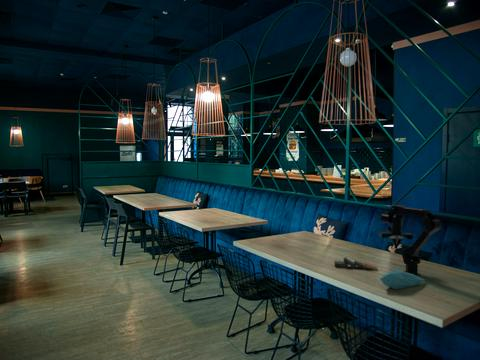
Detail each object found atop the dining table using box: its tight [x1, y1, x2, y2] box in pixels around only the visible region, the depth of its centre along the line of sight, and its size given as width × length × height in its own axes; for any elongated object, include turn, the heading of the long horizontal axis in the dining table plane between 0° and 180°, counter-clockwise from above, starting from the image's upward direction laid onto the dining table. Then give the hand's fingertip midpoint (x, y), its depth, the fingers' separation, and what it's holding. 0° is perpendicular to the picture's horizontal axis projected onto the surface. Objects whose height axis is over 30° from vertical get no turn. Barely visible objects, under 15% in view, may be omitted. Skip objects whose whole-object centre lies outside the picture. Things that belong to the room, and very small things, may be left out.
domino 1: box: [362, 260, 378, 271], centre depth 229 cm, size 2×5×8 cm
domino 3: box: [342, 257, 357, 269], centre depth 232 cm, size 2×5×8 cm
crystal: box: [379, 269, 426, 290], centre depth 199 cm, size 10×34×10 cm, turn 113°
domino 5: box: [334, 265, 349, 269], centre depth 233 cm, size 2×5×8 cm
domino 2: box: [353, 260, 368, 270], centre depth 231 cm, size 2×5×8 cm
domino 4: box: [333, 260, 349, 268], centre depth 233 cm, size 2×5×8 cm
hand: (395, 248), depth 230 cm, fingers closed
